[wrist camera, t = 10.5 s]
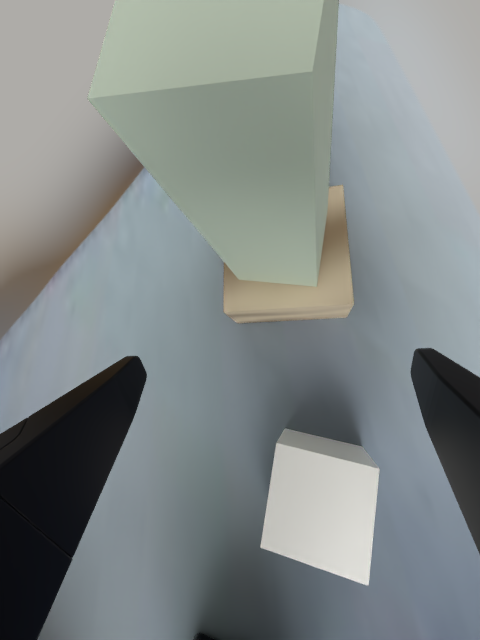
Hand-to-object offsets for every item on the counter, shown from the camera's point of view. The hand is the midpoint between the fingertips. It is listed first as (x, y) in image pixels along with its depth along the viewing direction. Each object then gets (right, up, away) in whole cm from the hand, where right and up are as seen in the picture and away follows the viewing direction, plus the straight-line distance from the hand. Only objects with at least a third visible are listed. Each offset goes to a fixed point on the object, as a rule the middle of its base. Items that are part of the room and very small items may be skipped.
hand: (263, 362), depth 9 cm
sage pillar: (+2, +6, +9) cm, 11 cm away
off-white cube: (+4, -9, +9) cm, 13 cm away
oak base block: (+3, +5, +13) cm, 14 cm away
